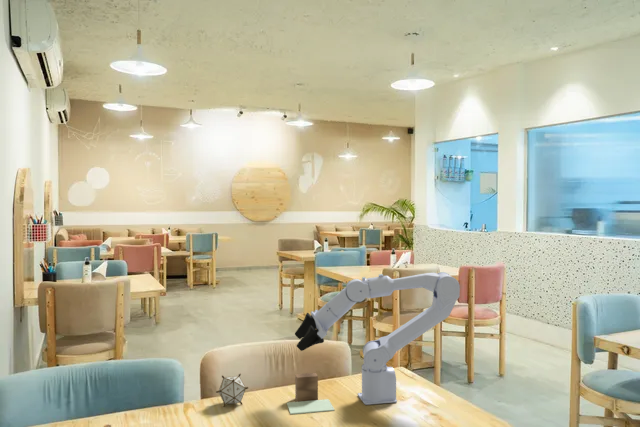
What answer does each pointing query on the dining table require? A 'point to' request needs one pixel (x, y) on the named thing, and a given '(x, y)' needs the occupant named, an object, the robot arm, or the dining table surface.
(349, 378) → the dining table surface
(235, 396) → the game die
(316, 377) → the walnut frame
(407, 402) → the dining table surface
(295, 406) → the sage mat
